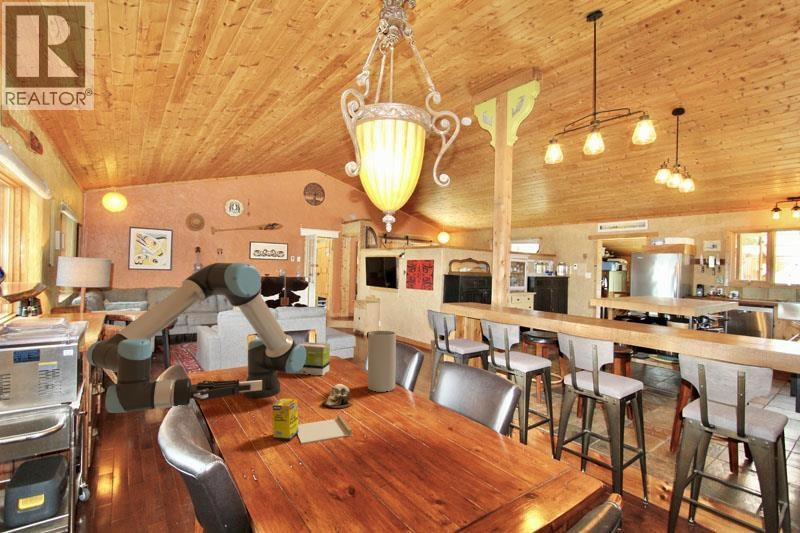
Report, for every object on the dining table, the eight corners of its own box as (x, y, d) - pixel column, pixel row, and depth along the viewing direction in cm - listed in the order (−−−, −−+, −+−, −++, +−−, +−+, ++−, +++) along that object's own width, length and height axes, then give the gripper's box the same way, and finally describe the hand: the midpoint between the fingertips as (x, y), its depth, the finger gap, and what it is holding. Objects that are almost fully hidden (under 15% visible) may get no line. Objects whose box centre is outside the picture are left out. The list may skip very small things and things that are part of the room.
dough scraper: (301, 444, 116) (301, 438, 116) (294, 426, 129) (294, 421, 129) (351, 435, 123) (351, 429, 123) (340, 419, 136) (340, 414, 136)
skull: (335, 409, 142) (324, 385, 147) (324, 422, 148) (314, 398, 153) (360, 401, 150) (350, 378, 155) (349, 413, 156) (339, 390, 161)
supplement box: (290, 440, 118) (289, 405, 117) (272, 439, 119) (271, 405, 119) (299, 432, 123) (298, 398, 123) (282, 431, 125) (281, 398, 125)
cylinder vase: (400, 387, 174) (401, 332, 174) (384, 394, 163) (385, 336, 163) (378, 382, 180) (379, 329, 180) (361, 389, 170) (362, 333, 170)
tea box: (294, 374, 192) (295, 345, 192) (302, 369, 202) (303, 341, 202) (322, 376, 189) (323, 346, 189) (329, 371, 199) (330, 342, 199)
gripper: (176, 399, 114) (260, 390, 124) (170, 414, 102) (263, 403, 112) (177, 374, 114) (260, 367, 124) (171, 386, 102) (263, 378, 112)
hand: (261, 384), depth 118 cm, fingers closed
